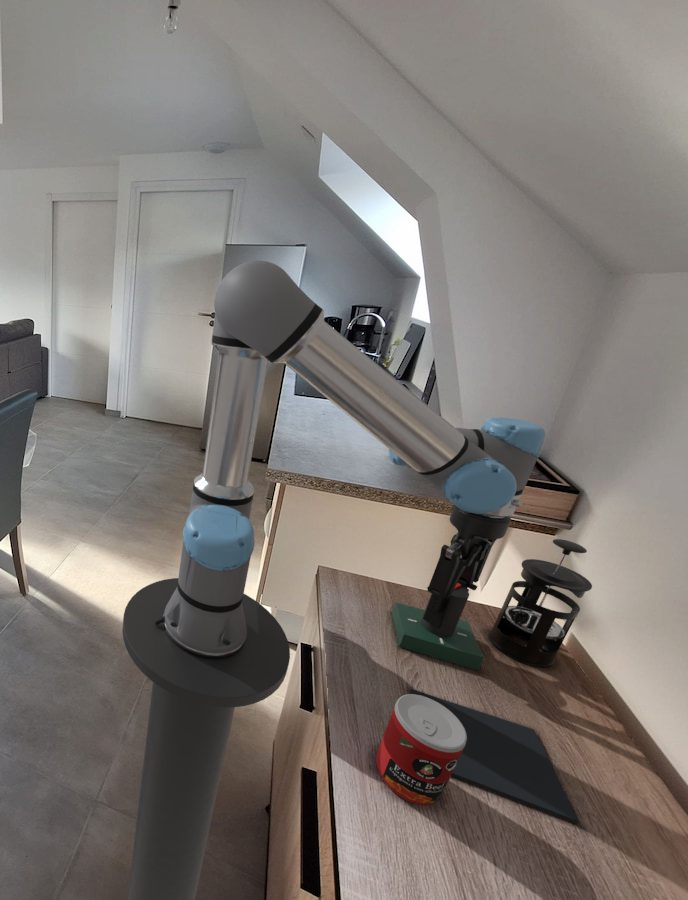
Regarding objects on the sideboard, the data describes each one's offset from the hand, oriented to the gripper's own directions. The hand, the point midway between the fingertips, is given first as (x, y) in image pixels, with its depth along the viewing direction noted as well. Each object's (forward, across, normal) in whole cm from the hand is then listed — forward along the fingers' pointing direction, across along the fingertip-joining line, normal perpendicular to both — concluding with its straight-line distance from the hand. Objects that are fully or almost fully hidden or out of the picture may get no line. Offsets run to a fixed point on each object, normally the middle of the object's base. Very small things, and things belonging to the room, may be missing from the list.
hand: (440, 618), depth 85 cm
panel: (+5, 0, 0) cm, 5 cm away
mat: (+5, -17, -16) cm, 24 cm away
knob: (+2, 0, 0) cm, 2 cm away
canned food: (+5, -32, -13) cm, 35 cm away
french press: (+5, +14, -8) cm, 17 cm away
